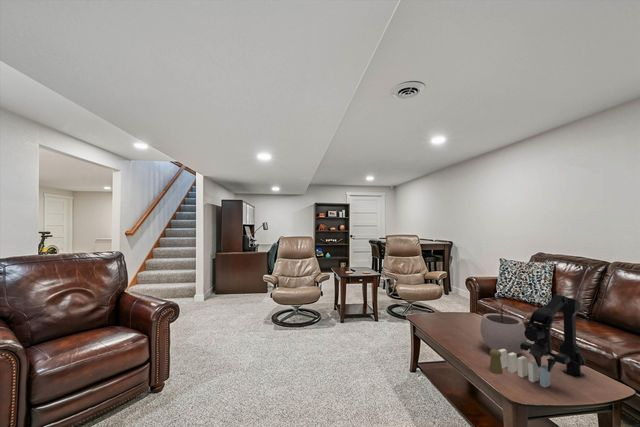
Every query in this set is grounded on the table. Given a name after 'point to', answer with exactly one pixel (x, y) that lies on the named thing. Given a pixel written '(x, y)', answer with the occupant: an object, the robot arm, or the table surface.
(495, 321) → the plant pot
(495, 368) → the olive green pawn
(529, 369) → the domino
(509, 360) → the domino
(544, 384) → the domino
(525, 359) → the domino
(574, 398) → the table surface
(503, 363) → the domino
